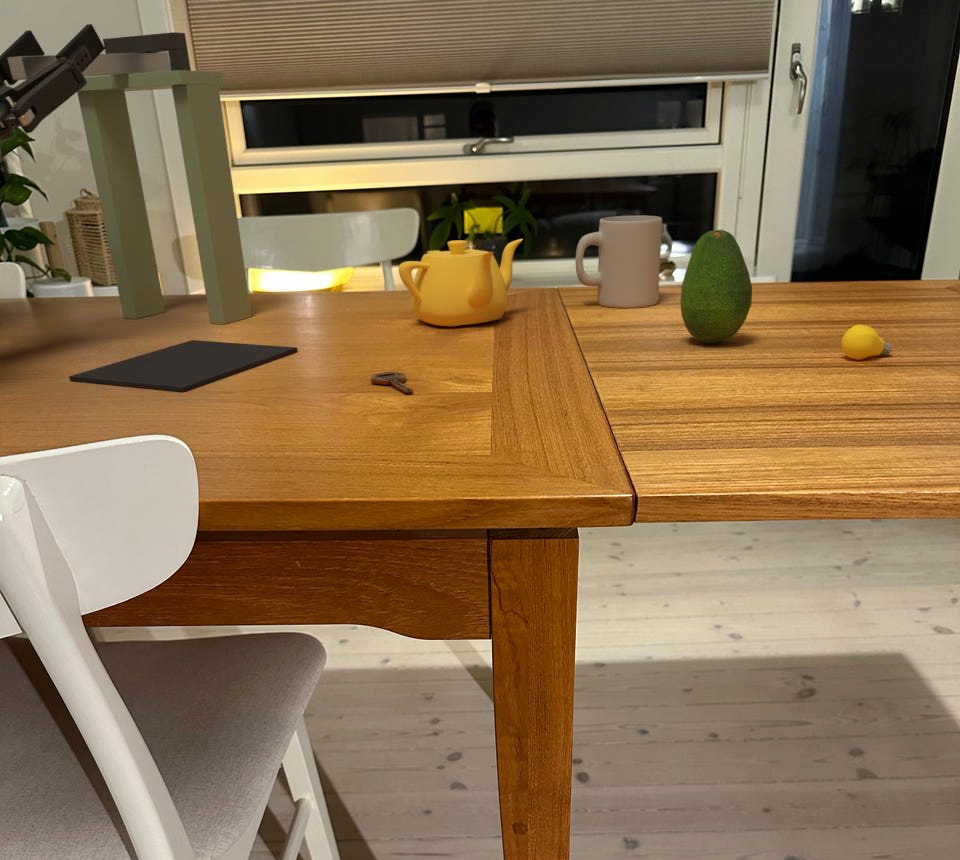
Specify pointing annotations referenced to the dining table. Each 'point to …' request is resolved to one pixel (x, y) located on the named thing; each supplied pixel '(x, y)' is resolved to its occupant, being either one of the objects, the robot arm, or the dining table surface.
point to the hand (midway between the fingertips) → (65, 39)
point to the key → (392, 380)
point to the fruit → (715, 288)
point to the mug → (624, 261)
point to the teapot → (459, 284)
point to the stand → (203, 173)
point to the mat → (184, 365)
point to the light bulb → (864, 343)
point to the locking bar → (95, 64)
